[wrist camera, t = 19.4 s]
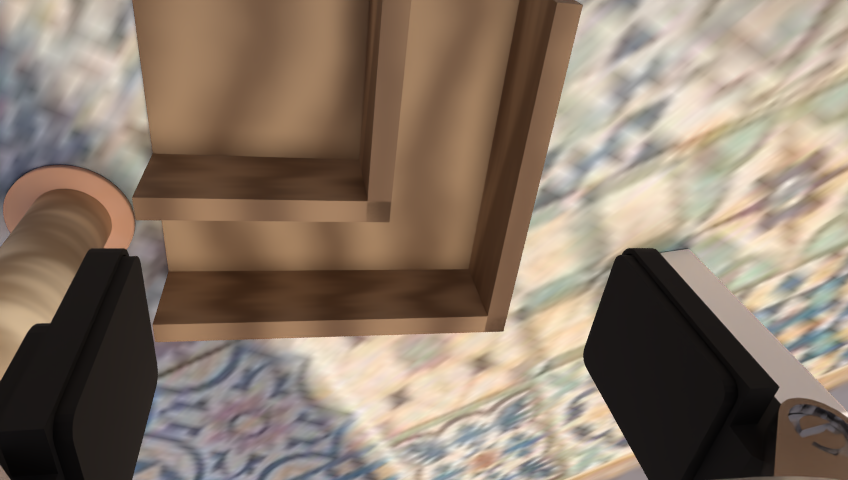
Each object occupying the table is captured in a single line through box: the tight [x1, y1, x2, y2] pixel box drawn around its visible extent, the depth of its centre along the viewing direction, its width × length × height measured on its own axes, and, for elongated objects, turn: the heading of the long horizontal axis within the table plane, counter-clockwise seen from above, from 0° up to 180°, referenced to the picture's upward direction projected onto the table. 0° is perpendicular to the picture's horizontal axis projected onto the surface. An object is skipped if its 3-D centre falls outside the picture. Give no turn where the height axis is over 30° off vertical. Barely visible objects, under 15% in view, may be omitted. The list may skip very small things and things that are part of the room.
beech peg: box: [0, 189, 112, 381], centre depth 35 cm, size 5×5×15 cm
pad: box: [3, 165, 135, 249], centre depth 41 cm, size 8×8×1 cm
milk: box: [660, 249, 848, 417], centre depth 46 cm, size 6×6×22 cm
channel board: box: [132, 0, 583, 342], centre depth 39 cm, size 24×24×7 cm
